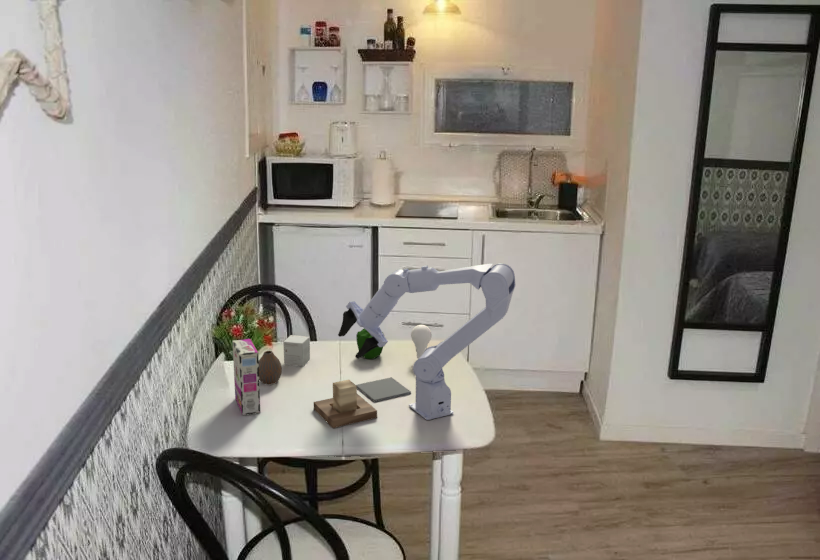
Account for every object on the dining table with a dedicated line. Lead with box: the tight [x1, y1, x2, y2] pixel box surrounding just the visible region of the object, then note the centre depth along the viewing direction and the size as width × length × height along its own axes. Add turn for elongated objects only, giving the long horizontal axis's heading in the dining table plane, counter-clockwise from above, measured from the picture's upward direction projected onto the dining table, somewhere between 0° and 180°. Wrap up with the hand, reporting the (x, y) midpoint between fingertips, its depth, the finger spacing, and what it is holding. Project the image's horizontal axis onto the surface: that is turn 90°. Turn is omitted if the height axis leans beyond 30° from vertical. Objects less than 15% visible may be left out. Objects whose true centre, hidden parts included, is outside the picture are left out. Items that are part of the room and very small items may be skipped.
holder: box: [313, 393, 378, 429], centre depth 189 cm, size 12×12×2 cm
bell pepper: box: [355, 328, 385, 360], centre depth 226 cm, size 8×8×10 cm
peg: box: [332, 379, 358, 413], centre depth 188 cm, size 4×4×8 cm
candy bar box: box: [232, 338, 261, 416], centre depth 191 cm, size 11×5×16 cm, turn 22°
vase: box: [259, 350, 283, 385], centre depth 207 cm, size 7×7×9 cm
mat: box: [355, 377, 412, 403], centre depth 203 cm, size 11×11×1 cm
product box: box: [283, 334, 311, 367], centre depth 221 cm, size 6×6×7 cm
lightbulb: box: [410, 324, 433, 360], centre depth 223 cm, size 6×6×11 cm
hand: (349, 346), depth 195 cm, fingers open, 7 cm apart
